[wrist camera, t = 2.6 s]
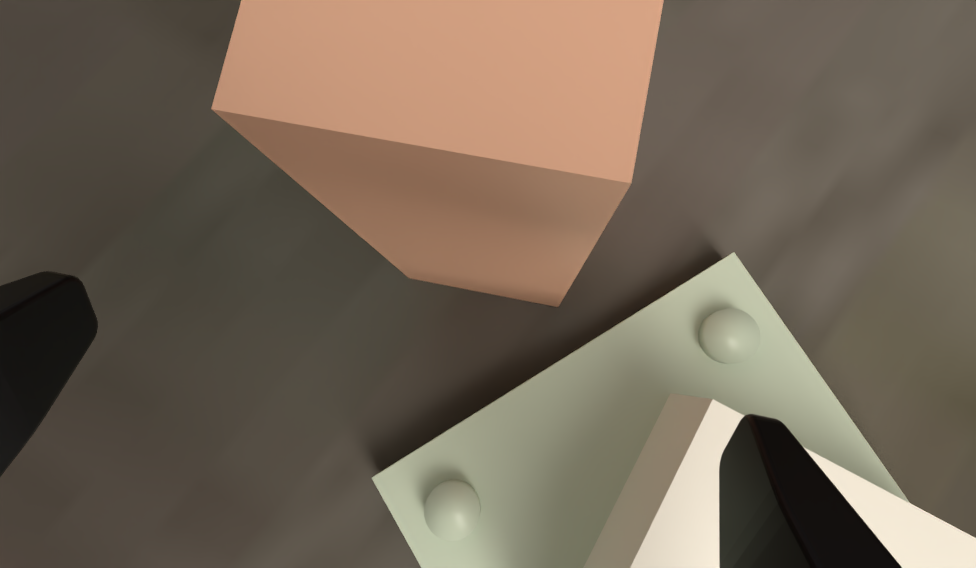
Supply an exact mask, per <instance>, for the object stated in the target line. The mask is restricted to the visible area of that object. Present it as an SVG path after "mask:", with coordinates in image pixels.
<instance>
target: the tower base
mask: <svg viewBox="0 0 976 568" xmlns="http://www.w3.org/2000/svg"><path fill="white" fill-rule="evenodd" d="M747 414H755V415H760V416H765V417H770V418H775V419H778V420H780V421H781V422H782V423H784V424H785V425H786V427H787V428H788V429H789V430H790V431H791V433H792V434H793V435H794V436H795V438H796V439H797V440H798V441H799V442H800V444H801V445H802V446H803V447H804V449H805V450H806V451H807V452H808V453H809V455H810V456H811V457H812V458H813V460H814V461H815V462H816V463H817V464H818V466H819V467H820V468H821V469H822V471H823V472H824V473H825V474H826V475H827V477H828V478H829V479H830V480H831V481H832V483H833V484H834V485H835V486H836V488H837V489H838V490H839V491H840V492H841V494H842V495H843V496H844V497H845V499H846V500H847V501H848V502H849V503H850V505H851V506H852V507H853V508H854V510H855V511H856V512H857V513H858V514H859V516H860V517H861V518H862V519H863V520H864V522H865V523H866V524H867V525H868V527H869V528H870V529H871V530H872V531H873V533H874V534H875V535H876V536H877V538H878V539H879V540H880V541H881V542H882V544H883V545H884V546H885V547H886V549H887V550H888V551H889V552H890V553H891V555H892V556H893V557H894V558H895V560H896V561H897V562H898V563H899V564H900V566H901V567H902V568H976V538H974V537H972V536H971V535H969V534H967V533H965V532H963V531H961V530H959V529H957V528H955V527H954V526H952V525H950V524H948V523H946V522H944V521H942V520H940V519H938V518H937V517H935V516H933V515H931V514H929V513H927V512H925V511H923V510H921V509H920V508H918V507H916V506H914V505H912V504H910V502H909V501H908V500H907V498H906V497H905V495H904V494H903V493H902V491H901V490H900V488H899V487H898V485H897V484H896V483H895V481H894V480H893V478H892V477H891V475H890V474H889V473H888V471H887V470H886V468H885V467H884V465H883V464H882V463H881V461H880V460H879V458H878V457H877V455H876V454H875V453H874V451H873V450H872V448H871V447H870V445H869V444H868V443H867V441H866V440H865V438H864V437H863V435H862V434H861V433H860V431H859V430H858V428H857V427H856V425H855V424H854V423H853V421H852V420H851V418H850V417H849V416H848V414H847V413H846V411H845V410H844V408H843V407H842V406H841V404H840V403H839V401H838V400H837V398H836V397H835V396H834V394H833V393H832V391H831V390H830V388H829V387H828V386H827V384H826V383H825V381H824V380H823V378H822V377H821V376H820V374H819V373H818V371H817V370H816V368H815V367H814V366H813V364H812V363H811V361H810V360H809V358H808V357H807V356H806V354H805V353H804V351H803V350H802V348H801V347H800V346H799V344H798V343H797V341H796V340H795V339H794V337H793V336H792V334H791V333H790V331H789V330H788V329H787V327H786V326H785V324H784V323H783V321H782V320H781V319H780V317H779V316H778V314H777V313H776V311H775V310H774V309H773V307H772V306H771V304H770V303H769V301H768V300H767V299H766V297H765V296H764V294H763V293H762V291H761V290H760V289H759V287H758V286H757V284H756V283H755V281H754V280H753V279H752V277H751V276H750V274H749V273H748V271H747V270H746V269H745V267H744V266H743V264H742V263H741V262H740V260H739V259H738V257H737V256H736V254H735V253H732V254H730V255H728V256H727V257H725V258H723V259H721V260H720V261H718V262H717V263H715V264H713V265H712V266H710V267H709V268H707V269H705V270H704V271H702V272H701V273H699V274H697V275H696V276H694V277H693V278H691V279H689V280H688V281H686V282H684V283H683V284H681V285H680V286H678V287H676V288H675V289H673V290H672V291H670V292H668V293H667V294H665V295H664V296H662V297H660V298H659V299H657V300H656V301H654V302H652V303H651V304H649V305H648V306H646V307H644V308H643V309H641V310H639V311H638V312H636V313H635V314H633V315H631V316H630V317H628V318H627V319H625V320H623V321H622V322H620V323H619V324H617V325H615V326H614V327H612V328H611V329H609V330H607V331H606V332H604V333H603V334H601V335H599V336H598V337H596V338H595V339H593V340H591V341H590V342H588V343H586V344H585V345H583V346H582V347H580V348H578V349H577V350H575V351H574V352H572V353H570V354H569V355H567V356H566V357H564V358H562V359H561V360H559V361H558V362H556V363H554V364H553V365H551V366H550V367H548V368H546V369H545V370H543V371H541V372H540V373H538V374H537V375H535V376H533V377H532V378H530V379H529V380H527V381H525V382H524V383H522V384H521V385H519V386H517V387H516V388H514V389H513V390H511V391H509V392H508V393H506V394H505V395H503V396H501V397H500V398H498V399H497V400H495V401H493V402H492V403H490V404H488V405H487V406H485V407H484V408H482V409H480V410H479V411H477V412H476V413H474V414H472V415H471V416H469V417H468V418H466V419H464V420H463V421H461V422H460V423H458V424H456V425H455V426H453V427H452V428H450V429H448V430H447V431H445V432H443V433H442V434H440V435H439V436H437V437H435V438H434V439H432V440H431V441H429V442H427V443H426V444H424V445H423V446H421V447H419V448H418V449H416V450H415V451H413V452H411V453H410V454H408V455H407V456H405V457H403V458H402V459H400V460H399V461H397V462H395V463H394V464H392V465H390V466H389V467H387V468H386V469H384V470H382V471H381V472H379V473H378V474H376V475H375V476H374V477H372V480H373V481H374V483H375V485H376V487H377V489H378V490H379V492H380V494H381V496H382V498H383V499H384V501H385V503H386V505H387V507H388V508H389V510H390V512H391V514H392V516H393V517H394V519H395V521H396V523H397V525H398V526H399V528H400V530H401V532H402V534H403V535H404V537H405V539H406V541H407V543H408V544H409V546H410V548H411V550H412V552H413V553H414V555H415V557H416V559H417V561H418V562H419V564H420V566H421V568H719V466H720V460H721V456H722V453H723V451H724V449H725V447H726V445H727V444H728V442H729V440H730V438H731V436H732V435H733V433H734V431H735V429H736V427H737V426H738V424H739V422H740V420H741V419H742V418H743V417H744V416H745V415H747Z"/></svg>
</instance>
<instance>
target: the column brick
mask: <svg viewBox="0 0 976 568" xmlns="http://www.w3.org/2000/svg"><path fill="white" fill-rule="evenodd" d="M663 1H664V0H241V4H240V8H239V11H238V15H237V18H236V22H235V26H234V29H233V33H232V36H231V40H230V44H229V47H228V51H227V54H226V58H225V62H224V65H223V69H222V72H221V76H220V79H219V83H218V87H217V90H216V94H215V97H214V101H213V105H212V108H211V109H212V110H213V111H214V112H215V113H216V114H218V115H219V116H220V117H221V118H222V119H224V120H225V121H226V122H227V123H228V124H229V125H231V126H232V127H233V128H234V129H235V130H236V131H238V132H239V133H240V134H241V135H242V136H243V137H245V138H246V139H247V140H248V141H249V142H250V143H252V144H253V145H254V146H255V147H256V148H257V149H259V150H260V151H261V152H262V153H263V154H264V155H266V156H267V157H268V158H269V159H270V160H271V161H273V162H274V163H275V164H276V165H277V166H278V167H280V168H281V169H282V170H283V171H284V172H286V173H287V174H288V175H289V176H290V177H291V178H293V179H294V180H295V181H296V182H297V183H298V184H300V185H301V186H302V187H303V188H304V189H305V190H307V191H308V192H309V193H310V194H311V195H312V196H314V197H315V198H316V199H317V200H318V201H319V202H321V203H322V204H323V205H324V206H325V207H326V208H328V209H329V210H330V211H331V212H332V213H333V214H335V215H336V216H337V217H338V218H339V219H340V220H342V221H343V222H344V223H345V224H346V225H348V226H349V227H350V228H351V229H352V230H353V231H355V232H356V233H357V234H358V235H359V236H360V237H362V238H363V239H364V240H365V241H366V242H367V243H369V244H370V245H371V246H372V247H373V248H374V249H376V250H377V251H378V252H379V253H380V254H381V255H383V256H384V257H385V258H386V259H387V260H388V261H390V262H391V263H392V264H393V265H394V266H395V267H397V268H398V269H399V270H400V271H401V272H402V273H404V274H405V275H406V276H407V277H408V278H410V279H416V280H421V281H426V282H431V283H436V284H441V285H446V286H451V287H457V288H462V289H467V290H472V291H477V292H482V293H487V294H492V295H498V296H503V297H508V298H513V299H518V300H523V301H528V302H533V303H539V304H544V305H549V306H554V307H559V305H560V303H561V301H562V300H563V298H564V296H565V295H566V293H567V291H568V290H569V288H570V286H571V285H572V283H573V281H574V279H575V278H576V276H577V274H578V273H579V271H580V269H581V268H582V266H583V264H584V263H585V261H586V259H587V257H588V256H589V254H590V252H591V251H592V249H593V247H594V246H595V244H596V242H597V241H598V239H599V237H600V235H601V234H602V232H603V230H604V229H605V227H606V225H607V224H608V222H609V220H610V219H611V217H612V215H613V213H614V212H615V210H616V208H617V207H618V205H619V203H620V202H621V200H622V198H623V197H624V195H625V193H626V191H627V190H628V188H629V186H630V185H631V182H632V177H633V171H634V165H635V160H636V154H637V148H638V143H639V137H640V131H641V126H642V120H643V114H644V109H645V103H646V97H647V92H648V86H649V80H650V75H651V69H652V63H653V58H654V52H655V46H656V41H657V35H658V29H659V24H660V18H661V12H662V7H663Z"/></svg>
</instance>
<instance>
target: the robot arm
mask: <svg viewBox="0 0 976 568" xmlns="http://www.w3.org/2000/svg"><path fill="white" fill-rule="evenodd" d="M97 328H98V321H97V318H96V315H95V313H94V310H93V308H92V305H91V303H90V300H89V297H88V295H87V292H86V290H85V287H84V285H83V283H82V282H81V281H80V280H79V279H78V278H77V277H75V276H71V275H66V274H61V273H56V272H48V271H46V272H41V273H37V274H34V275H31V276H28V277H25V278H22V279H20V280H17V281H14V282H11V283H8V284H5V285H2V286H0V477H1V475H2V474H3V473H4V471H5V470H6V469H7V468H8V466H9V465H10V464H11V462H12V461H13V460H14V459H15V457H16V456H17V455H18V453H19V452H20V451H21V450H22V448H23V447H24V446H25V444H26V443H27V442H28V440H29V439H30V438H31V436H32V435H33V433H34V432H35V431H36V429H37V428H38V426H39V425H40V423H41V422H42V420H43V419H44V417H45V416H46V414H47V413H48V411H49V409H50V408H51V406H52V405H53V403H54V402H55V400H56V398H57V397H58V395H59V394H60V392H61V390H62V389H63V387H64V386H65V384H66V383H67V381H68V379H69V378H70V376H71V375H72V373H73V371H74V370H75V368H76V367H77V365H78V364H79V362H80V360H81V359H82V357H83V356H84V354H85V352H86V351H87V349H88V348H89V346H90V345H91V343H92V341H93V340H94V338H95V336H96V333H97ZM719 568H902V567H901V566H900V564H899V563H898V562H897V561H896V560H895V558H894V557H893V556H892V555H891V553H890V552H889V551H888V550H887V549H886V547H885V546H884V545H883V544H882V542H881V541H880V540H879V539H878V538H877V536H876V535H875V534H874V533H873V531H872V530H871V529H870V528H869V527H868V525H867V524H866V523H865V522H864V520H863V519H862V518H861V517H860V516H859V514H858V513H857V512H856V511H855V510H854V508H853V507H852V506H851V505H850V503H849V502H848V501H847V500H846V499H845V497H844V496H843V495H842V494H841V492H840V491H839V490H838V489H837V488H836V486H835V485H834V484H833V483H832V481H831V480H830V479H829V478H828V477H827V475H826V474H825V473H824V472H823V471H822V469H821V468H820V467H819V466H818V464H817V463H816V462H815V461H814V460H813V458H812V457H811V456H810V455H809V453H808V452H807V451H806V450H805V449H804V447H803V446H802V445H801V444H800V442H799V441H798V440H797V439H796V438H795V436H794V435H793V434H792V433H791V431H790V430H789V429H788V428H787V427H786V425H785V424H784V423H782V422H781V421H780V420H778V419H775V418H770V417H765V416H760V415H755V414H747V415H745V416H744V417H743V418H742V419H741V420H740V422H739V424H738V426H737V427H736V429H735V431H734V433H733V435H732V436H731V438H730V440H729V442H728V444H727V445H726V447H725V449H724V451H723V453H722V456H721V460H720V466H719Z"/></svg>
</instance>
